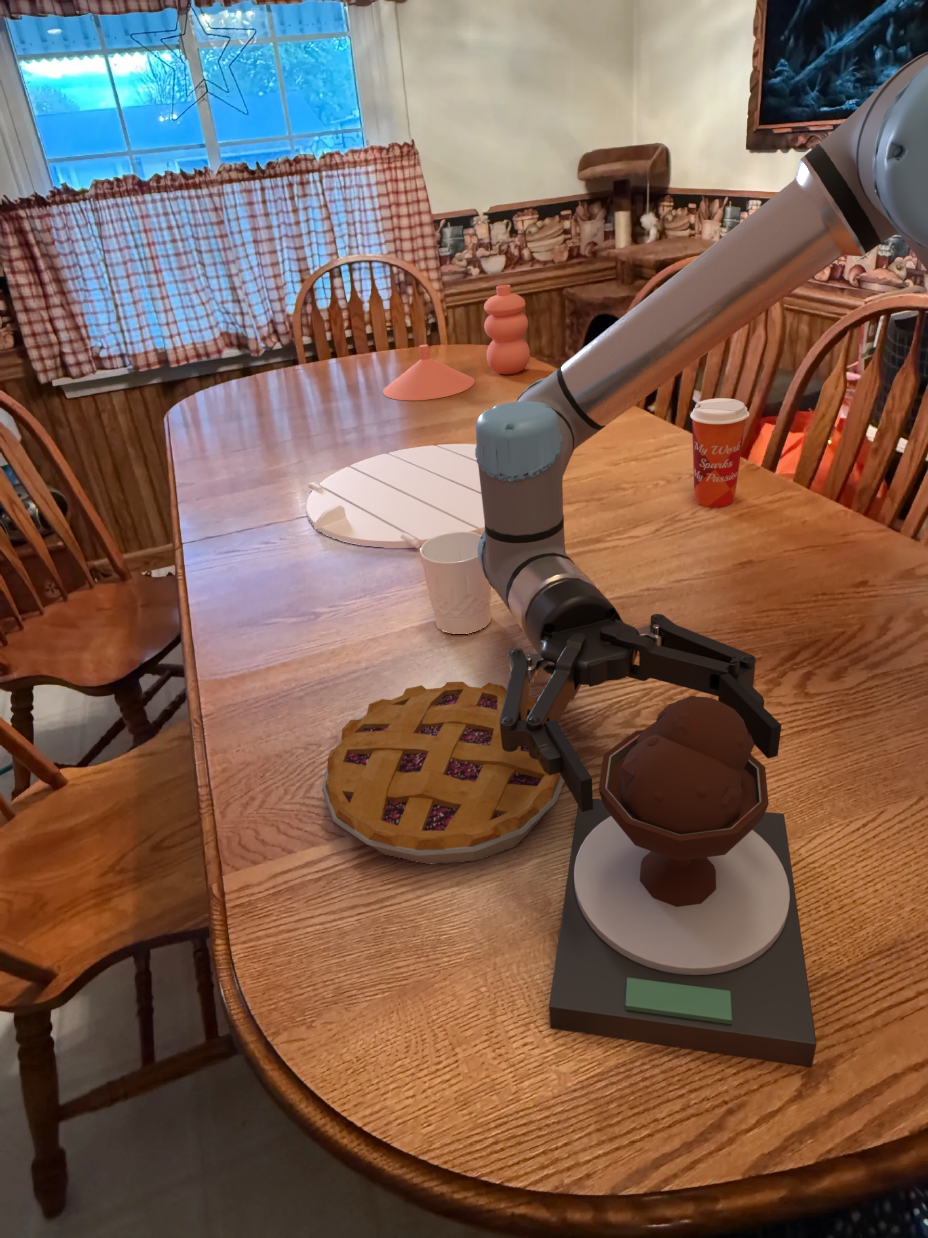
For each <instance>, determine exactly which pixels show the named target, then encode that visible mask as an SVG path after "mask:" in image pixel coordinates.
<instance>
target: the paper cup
mask: <svg viewBox="0 0 928 1238" xmlns="http://www.w3.org/2000/svg"><path fill="white" fill-rule="evenodd" d="M689 415H690V418H691V420H692V459H693V460H692V461H693V464H692V465H693V495H694V502H695V501H696V502H695V503H696V504H697V503H698V504H697V505H699V506H702V507H707V508H723V507H727V506H729V505H731V504H733V503H734V501H735V497H736V490H737V485H738V477H739V470H740V462H741V455H742V448H743V440H744V432H745V426H746V419H747V418H748V417H750V412H749V411H748V407H747V406H745V403H744V402H743V401H740V400H738V399H734V398H727V397H726V398H725V397H724V398H723V397H721V398H718V397H717V398H709V399H703V400H701V401H698V402H696V404H695V406H694V408H693V410H692V411H691V412H690V414H689Z"/></svg>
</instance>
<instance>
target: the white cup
mask: <svg viewBox="0 0 928 1238" xmlns="http://www.w3.org/2000/svg"><path fill="white" fill-rule="evenodd" d="M481 536H482V535H480V534H477V533H473V532H450V533H445V534H441V535H438V536H435V537H433V538H431V539H429V540H428V541H426V542H425V543H424V544H423V545H422V546H420V547H419V548H420V549H419V554H420V560H421V564H422V568H423V573H424V578H425V583H426V584H425V585H426V589H427V592H428V593H427V594H428V598H429V601H430V605H431V607H432V612H433V617H434V621H435V622H434V623H435V627H437V626H438V627H439V628H440V629H441V630H444V631H447V632H450V633H455V634H459V633H460V634H466V633H470V632H476V631H478V630H480V629H482V628H484V627H485V626H487V625H489V624H490V622H491V621H492V605H491V604H492V602H491V600H492V586H491V585H490V584H489V581H488V580H487V579H486V578H485V576H484V573H483V570H482V567H481V565H480V562H479V559H478V544H479V541H480V538H481ZM438 627H437V628H438ZM487 627H488V626H487ZM439 628H438V629H439ZM485 628H486V627H485ZM485 628H484V629H485ZM440 629H439V630H440ZM441 630H440V631H441ZM482 630H483V629H482ZM480 631H481V630H480ZM476 633H477V632H476Z"/></svg>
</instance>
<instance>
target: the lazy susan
mask: <svg viewBox="0 0 928 1238" xmlns="http://www.w3.org/2000/svg"><path fill="white" fill-rule="evenodd" d="M476 447H477V446H476V443H475V444H474V443H448V444H447V443H446V444H444V443H443V444H436V445H434V444H433V445H424V446H423V445H422V446H416V447H408V448H404V449H403V448H402V449H399V450H394V451H389V452H388V453H386V452H385V453H382V454H378V455H374V456H372V457H368V458H365V459H363V460H360V461H357V462H355V463H352V464H349V466H345V467H344V468H341V469H339V470H337V471H336V472H333V473H332V474H330V475H329V476H328V477H326V478H325V479H323V480H322V481H321V482H320V483H316V482H309V483H308V488H309V489H310V490H312V491H311V492H310V493H309V495H308V497H307V499H306V503H305V510H306V513H307V514H306V515H307V519H308V518H309V519H308V521H309V520H310V521H309V523H310V522H311V523H312V524H313V526H314V527H313V526H312V527H313V529H314V530H316V531H318V530H319V531H321V532H322V533H324V534H326V535H328V536H330V537H334V538H335V539H339V540H342V541H347V542H350V543H356V544H360V545H365V546H377V547H384V548H383V549H419V548H421V546H422V545H423V544H424V543H425V542H426V541H428V540H429V539H431V538H433V537H435V536H438V535H441V534H445V533H450V532H473V533H477V534H480V535H482V534H483V532H484V530H485V523H484V513H483V504H482V495H481V486H480V476H479V467H478V464H477V458H476V455H475V449H476ZM311 523H310V524H311ZM312 524H311V525H312ZM317 529H318V530H317ZM319 531H318V532H319ZM322 533H321V534H322ZM324 534H323V535H324Z"/></svg>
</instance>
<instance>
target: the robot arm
mask: <svg viewBox="0 0 928 1238" xmlns="http://www.w3.org/2000/svg"><path fill="white" fill-rule="evenodd" d="M798 162H799V163H798V167H797V169H796V170H797V171H796V175H795V176H794V179H793V180H792V181H790V182H789V183H788V184H787V185H786V186H785V187H783V188H782V189H780V190H779V191H778V192H777V193H776V194H775V195H773V196H772V197H771V198H769V199H768V200H767V201H766V202H764V203H763V204H762V205H760V206H759V207H758V208H757V209H756V210H754V211H753V212H751V214H749V215H748V216H747V217H745V218H744V219H743V220H742V221H740V222H739V223H738V224H737V225H736V226H734V227H733V228H732V229H730V230H729V231H728V232H727V233H726V234H724V235H723V236H722V237H720V238H719V239H718V240H717V241H715V243H713V244H712V245H711V246H709V247H707V249H706V250H704V251H703V252H702V253H700V254H699V255H698V256H697V257H695V258H693V260H692V261H691V262H689V263H688V264H686V266H684V267H683V268H681V269H680V270H679V271H678V272H677V273H675V274H674V275H673V276H671V277H670V278H669V279H668V280H666V282H664V283H662V284H661V285H660V286H659V287H658V288H656V289H655V290H654V291H653V292H652V293H650V294H649V295H648V296H647V297H645V298H644V299H643V300H642V301H640V302H639V303H637V305H635V306H634V307H633V308H631V309H630V310H629V311H627V313H625V314H624V315H623V316H621V317H620V318H619V319H618V320H616V321H615V322H614V323H613V324H612V325H610V326H609V327H608V328H606V329H605V330H604V331H603V332H601V333H600V334H599V335H598V336H597V337H595V338H594V339H592V340H591V341H590V342H589V343H588V344H587V345H585V346H583V347H582V348H581V349H580V350H579V351H578V352H576V354H574V355H572V357H570V358H569V359H568V360H566V361H565V362H564V363H563V364H562V365H560V367H559V368H557V369H555V370H554V371H553V372H552V373H550V374H549V375H548V376H546V377H543V378H539V379H538V380H536V381H534V382H533V383H531V384H530V385H529V386H528V387H527V388H525V390H524V391H522V393H519V394H520V395H519V396H517V399H516V400H515V401H509V402H504V403H499V404H496V405H494V406H493V407H492V408H488V409H485V410H484V411H483V412H482V413H481V414H479V416H478V418H477V420H476V422H475V423H476V424H475V435H476V436H475V438H476V439H475V440H476V441H475V444H476V446H477V447H476V449H475V455H476V458H477V464H478V467H479V476H480V486H481V495H482V504H483V513H484V523H485V530H484V532H483V534H482V536H481V538H480V541H479V544H478V559H479V562H480V565H481V567H482V570H483V573H484V576H485V578H486V579H487V580H488V581H489V584H490V585H491V589H493V590H494V591H495V592H496V593H497V595H498V597H499V598H500V599H501V601H502V602H503V604H504V605H505V606H506V607H507V610H509V612H510V613H511V615H512V617H513V619H514V620H515V621H516V623H517V624H518V626H519V627H520V629H521V631H522V632H523V634H524V635H525V636H526V638H527V639H528V641H529V643H530V644H531V645H532V647H533V648H534V650H535V653H529V654H525V652H524V650H523V649H522V648H518V647H516V648H511V649H509V650H508V661H509V662H508V663H509V679H508V682H507V687H506V695H505V700H504V704H503V708H502V712H501V716H500V720H499V721H500V732H501V741H502V749H503V750H504V751H506V752H513V751H516V750H517V749H518V747H519V746H525V747H528V749H529V756H530V757H531V758H533V759H538V761H539V762H540V765H541V766H542V768H543V770H544V772H546V773H547V774H548V775H553V774H557V773H560V774H561V776H562V778H563V780H564V783H565V785H566V787H567V789H568V790H569V792H570V793H571V796H572V797H573V799H574V800H575V802H576V804H577V807H578V806H579V807H580V809H581V811H582V812H585V811H588V810H592V809H593V799H594V796H593V778H592V776H591V774H590V773H589V771H588V769H587V768H586V767H585V765H584V763H583V762H582V760H581V758H580V756H579V755H578V754H577V751H576V750H575V748H574V747H573V745H572V743H571V742H570V741H569V739H568V738H567V736H566V733H565V732H564V731H563V729H562V728H561V726H560V724H559V721H560V720H561V718H562V716H563V714H564V713H565V711H566V708H567V707H568V705H569V704H570V701H571V700H574V699H575V698H576V695H577V694H578V692H579V690H580V688H581V686H582V685H583V686H588V687H589V688H592V687H595V686H599V685H601V684H604V683H606V682H611V681H618V680H623V679H625V678H631V679H633V680H638V681H641V682H647V680H648V679H652V680H656V681H660V682H664V683H667V684H671V685H675V686H678V687H682V688H686V689H690V690H693V691H697V692H700V693H704V694H708V695H712V696H715V697H718V699H717V700H718V701H720V702H722V703H724V704H725V705H727V706H729V707H731V708H733V709H734V710H735V711H736V712H737V713H738V714H739V715H740V716H741V718H742V719H743V720H744V723H745V726H746V728H747V731H748V734H749V733H750V734H751V737H752V739H753V742H754V744H755V745H754V746H755V747H756V748H757V749H758V750H759V751H760V752H761V753H762V754H763V755H764V756H765V758H766V759H767V760H768V759H772V758H775V757H779V748H780V741H781V732H782V724H781V723H780V721H778V720H777V719H776V718H775V717H774V716H773V715H772V714H771V713H770V712H769V711H768V710H767V709H766V708H765V698H764V696H763V695H762V694H761V693H760V692H759V691H758V690H757V689H755V687H754V681H755V673H756V662H757V658H756V656H755V655H753V654H751V653H748V652H746V651H743V650H741V649H739V648H736V647H733V646H731V645H729V644H726V643H724V642H721V641H718V640H715V639H713V638H711V637H708V636H706V635H703V634H700V633H698V632H695V631H693V630H690V629H688V628H685V627H683V626H680V625H677V624H675V623H674V622H673V621H672V620H671V619H670V618H668V617H667V616H665V615H664V614H661V613H654V614H652V615H650V623H649V624H646V625H643V626H641V627H638V628H636V627H635V626H633V625H630V624H628V623H626V622H624V621H623V619H622V617H621V616H620V614H619V612H618V610H617V609H616V607H615V606H614V604H612V603H611V602H610V600H609V599H608V598H607V597H606V596H605V595H604V594H603V593H602V591H600V589H599V588H598V587H597V586H596V585H595V583H594V582H593V581H592V580H591V578H589V577H588V575H587V574H586V573H585V572H584V571H583V570H582V569H581V568H580V567H579V566H578V565H577V564H576V563H575V562H574V561H573V559H572V558H571V557H570V556H569V555H568V553H567V551H566V543H565V542H566V541H565V540H566V539H565V518H564V517H565V516H564V499H563V498H564V495H563V494H564V493H563V491H564V490H563V488H564V487H563V482H564V481H563V480H564V475H565V473H566V470H567V467H568V465H569V463H570V460H571V458H572V456H573V454H574V452H575V450H576V449H578V447H580V446H581V445H582V444H584V443H585V442H586V441H588V440H589V439H591V438H592V437H593V436H594V435H596V434H598V433H599V432H600V431H601V430H603V429H604V428H605V427H606V426H608V425H609V424H610V423H612V422H613V421H614V420H617V418H619V417H620V416H622V415H624V413H626V412H627V411H628V410H630V409H631V408H633V407H634V406H635V405H636V404H638V403H640V402H642V401H643V400H644V399H645V398H646V397H648V396H650V395H651V394H653V392H655V391H656V390H657V389H659V388H660V387H662V386H664V385H665V384H666V383H668V382H669V381H670V380H672V379H673V378H675V377H676V376H677V375H678V374H680V373H681V372H683V371H684V370H686V369H687V368H688V367H690V366H691V365H693V364H694V363H695V362H697V361H698V360H700V359H701V358H702V357H703V356H705V355H707V354H708V353H709V352H711V351H712V350H713V349H715V348H716V347H718V346H719V345H720V344H722V343H723V342H725V341H726V340H728V339H729V338H730V337H732V336H733V335H734V334H736V333H737V332H738V331H740V330H741V329H743V328H745V326H747V325H749V324H750V323H751V322H752V321H754V320H755V319H756V318H758V317H759V316H761V315H762V314H764V313H765V312H766V311H768V310H769V309H771V308H772V307H773V306H775V305H776V304H778V303H779V302H780V301H782V300H783V299H784V298H786V297H787V296H789V295H790V294H791V293H793V292H795V290H797V289H798V288H800V287H801V286H803V285H804V284H806V282H808V281H810V280H811V279H812V278H814V277H815V276H816V275H818V274H819V273H820V272H822V271H823V270H825V269H826V268H828V267H829V266H830V265H832V264H833V263H834V262H836V261H838V260H839V259H840V258H842V257H846V256H847V257H848V256H849V257H861V258H862V257H864V256H865V255H867V254H868V253H870V252H871V251H872V250H874V249H875V248H876V247H878V246H879V245H881V244H883V243H884V242H886V241H887V240H888V239H890V238H892V237H894V236H896V235H897V234H899V235H900V237H901V238H902V239H903V240H904V242H905V243H906V244H907V246H908V247H909V249H910V250H911V251H912V253H913V254H914V255H915V256H916V258H917V259H918V260H919V262H920V264H922V266H923V268H924V269H925V270H926V271H927V272H928V51H927V52H924V53H922V54H920V55H918V56H916V57H915V58H913V59H912V60H910V61H909V62H907V63H906V64H904V65H903V66H902V67H901V66H900V67H899V69H897V70H896V71H895V72H894V73H893V74H892V75H891V76H890V77H889V78H887V79H886V81H884V82H883V83H882V84H881V85H880V86H879V87H878V88H876V90H874V92H873V93H872V94H871V95H870V96H869V97H868V98H867V99H866V100H865V101H864V102H863V103H862V104H861V105H860V106H859V107H858V108H857V109H856V110H855V111H853V112H852V114H850V116H848V117H847V118H845V120H844V121H843V122H842V123H841V124H839V125H838V126H837V127H836V128H835V129H834V130H833V131H832V132H831V133H830V134H829V135H827V136H826V137H825V138H824V139H822V141H820V142H819V143H818V144H817V145H815V146H814V147H813V148H812V149H810V151H808V152H806V153H805V154H804V155H803V156H802V157H801V158H800V159H799V161H798ZM637 657H638V660H639V661H638V664H635V662H636V659H637ZM540 670H543V671H544V672H545V673H547V674H548V675H551V677H550V678H549V680H548V682H547V684H546V685H545V687H544V688H543V690H542V692H541V694H540V695H539V696H538V698H537V702H536V703H535V705H534V707H533V709H532V710H531V712H530V714H529V715H528V717H527V719H526V720H524V717H525V712H526V707H527V702H528V697H529V696H530V692H531V691H530V689H531V688H530V684H534V682H535V678H536V677H537V676H538V672H539V671H540ZM563 732H564V733H565V734H564V733H563Z"/></svg>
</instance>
